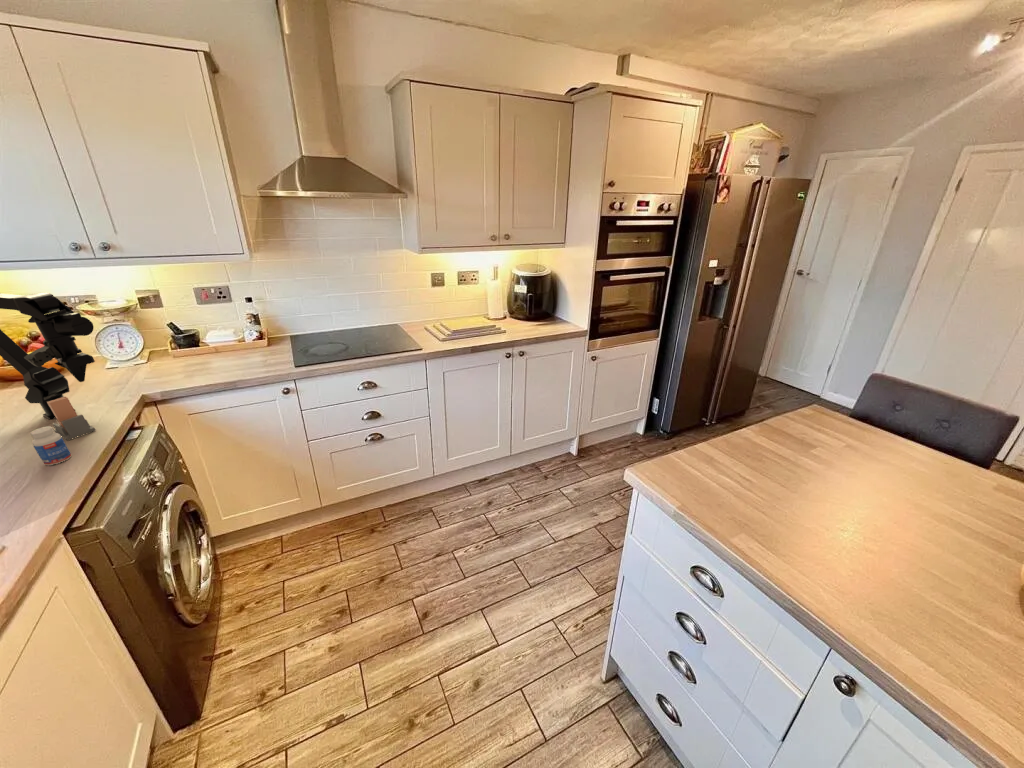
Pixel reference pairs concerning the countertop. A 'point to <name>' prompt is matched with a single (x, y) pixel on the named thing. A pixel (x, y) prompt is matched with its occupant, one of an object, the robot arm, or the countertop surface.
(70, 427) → the switch base
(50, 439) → the pill bottle
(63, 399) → the orange tall block
